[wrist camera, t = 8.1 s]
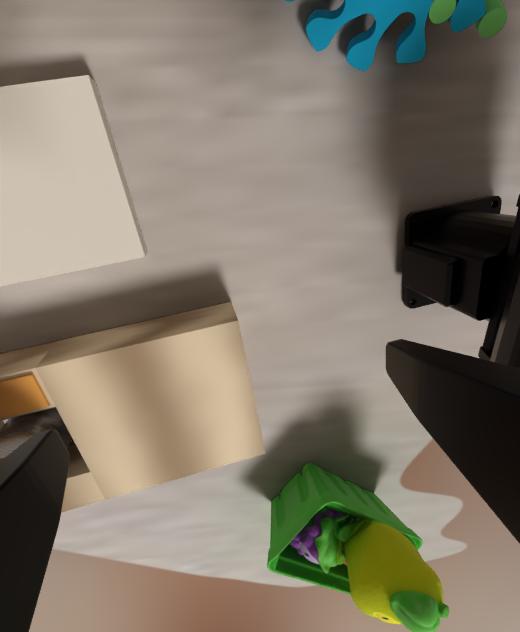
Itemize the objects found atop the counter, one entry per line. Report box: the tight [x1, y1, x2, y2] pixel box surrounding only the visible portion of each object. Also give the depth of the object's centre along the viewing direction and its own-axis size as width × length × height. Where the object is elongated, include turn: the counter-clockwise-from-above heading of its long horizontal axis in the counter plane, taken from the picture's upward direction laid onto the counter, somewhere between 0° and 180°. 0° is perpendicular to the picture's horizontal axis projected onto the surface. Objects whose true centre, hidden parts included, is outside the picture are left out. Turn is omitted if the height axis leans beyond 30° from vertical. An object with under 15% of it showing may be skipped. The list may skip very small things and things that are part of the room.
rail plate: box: [0, 302, 266, 512], centre depth 20 cm, size 18×10×3 cm, turn 99°
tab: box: [0, 75, 147, 286], centre depth 16 cm, size 10×8×1 cm
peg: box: [0, 407, 72, 461], centre depth 18 cm, size 5×5×7 cm
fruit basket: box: [267, 462, 449, 632], centre depth 24 cm, size 11×9×11 cm
